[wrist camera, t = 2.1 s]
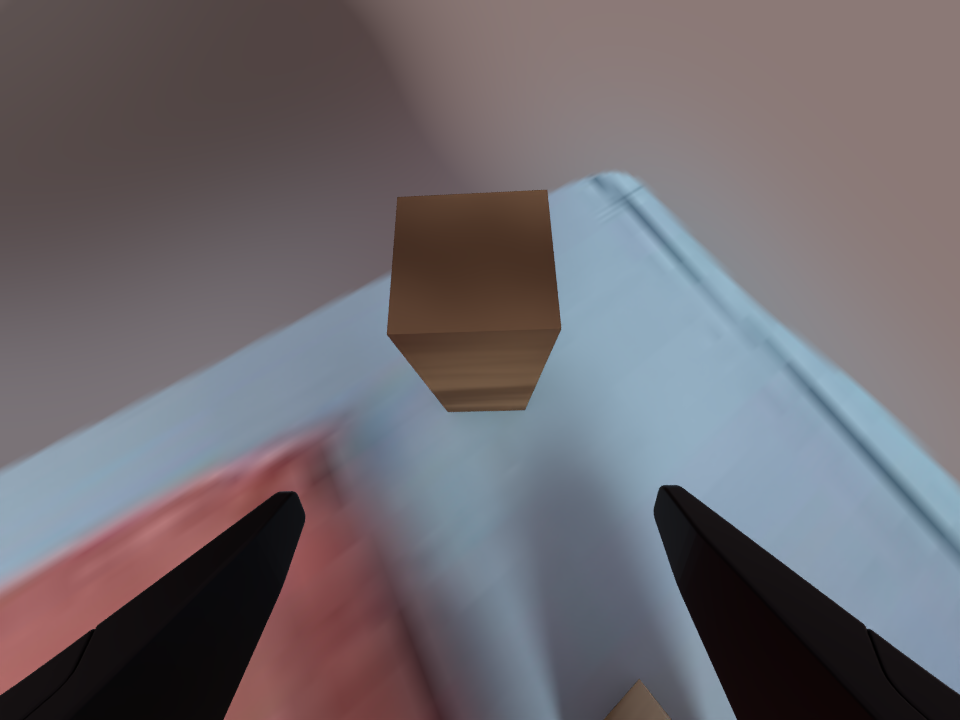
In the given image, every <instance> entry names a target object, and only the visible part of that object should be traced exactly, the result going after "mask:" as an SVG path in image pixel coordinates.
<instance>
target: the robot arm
mask: <svg viewBox="0 0 960 720" xmlns="http://www.w3.org/2000/svg"><path fill="white" fill-rule="evenodd" d="M654 518H655V521H656V524H657V527H658V530H659V533H660V536H661V539H662V542H663V545H664V548H665V551H666V554H667V557H668V560H669V563H670V566H671V569H672V572H673V575H674V577H675V580H676V583H677V586H678V588H679V590H680V593H681V595H682V598H683V600H684V602H685V604H686V606H687V609H688V611H689V613H690V615H691V618H692V620H693V622H694V624H695V627H696V629H697V631H698V633H699V636H700V638H701V640H702V642H703V645H704V647H705V649H706V651H707V653H708V656H709V658H710V660H711V662H712V665H713V667H714V669H715V671H716V674H717V676H718V678H719V680H720V683H721V685H722V687H723V689H724V692H725V694H726V696H727V698H728V701H729V703H730V705H731V707H732V709H733V712H734V714H735V716H736V718H737V720H960V694H958V693H957V692H955V691H954V690H952V689H951V688H950V687H948V686H947V685H945V684H944V683H943V682H941V681H940V680H939V679H937V678H936V677H934V676H933V675H932V674H930V673H929V672H928V671H926V670H925V669H924V668H922V667H921V666H919V665H918V664H917V663H915V662H914V661H913V660H911V659H910V658H909V657H907V656H906V655H904V654H903V653H902V652H900V651H899V650H898V649H896V648H895V647H894V646H892V645H891V644H890V643H888V642H887V641H886V640H884V639H883V638H882V637H880V636H879V635H878V634H876V633H875V632H874V631H872V630H871V629H866V626H865V625H864V624H863V623H862V622H860V621H859V620H858V619H856V618H855V617H854V616H852V615H851V614H850V613H848V612H847V611H846V610H844V609H843V608H842V607H840V606H839V605H838V604H836V603H835V602H834V601H832V600H831V599H830V598H828V597H827V596H826V595H824V594H823V593H822V592H820V591H819V590H818V589H816V588H815V587H814V586H812V585H811V584H810V583H808V582H807V581H806V580H804V579H803V578H802V577H800V576H799V575H798V574H796V573H795V572H794V571H792V570H791V569H790V568H789V567H787V566H786V565H785V564H783V563H782V562H781V561H779V560H778V559H777V558H775V557H774V556H773V555H771V554H770V553H769V552H767V551H766V550H765V549H763V548H762V547H761V546H759V545H758V544H757V543H755V542H754V541H753V540H751V539H750V538H749V537H747V536H746V535H745V534H743V533H742V532H741V531H739V530H738V529H737V528H735V527H734V526H733V525H731V524H730V523H729V522H727V521H726V520H725V519H723V518H722V517H721V516H719V515H718V514H717V513H715V512H714V511H713V510H711V509H710V508H709V507H707V506H706V505H705V504H703V503H702V502H701V501H699V500H698V499H697V498H696V497H694V496H693V495H692V494H690V493H689V492H688V491H686V490H685V489H684V488H682V487H680V486H678V485H663V486H661V487H660V488H659V491H658V494H657V498H656V502H655V506H654ZM304 523H305V512H304V509H303V507H302V504H301V502H300V499H299V497H298V495H297V493H296V492H293V491H282V492H278V493H276V494H274V495H273V496H271V497H270V498H269V499H267V500H266V501H265V502H263V503H262V504H261V505H259V506H258V507H257V508H255V509H254V510H253V511H251V512H250V513H248V514H247V515H246V516H244V517H243V518H242V519H240V520H239V521H238V522H236V523H235V524H234V525H232V526H231V527H230V528H228V529H227V530H226V531H224V532H223V533H221V534H220V535H219V536H217V537H216V538H215V539H213V540H212V541H211V542H209V543H208V544H207V545H205V546H204V547H203V548H201V549H200V550H199V551H197V552H196V553H194V554H193V555H192V556H190V557H189V558H188V559H186V560H185V561H184V562H182V563H181V564H180V565H178V566H177V567H176V568H174V569H173V570H172V571H170V572H169V573H167V574H166V575H165V576H163V577H162V578H161V579H159V580H158V581H157V582H155V583H154V584H153V585H151V586H150V587H149V588H147V589H146V590H145V591H143V592H142V593H140V594H139V595H138V596H136V597H135V598H134V599H132V600H131V601H130V602H128V603H127V604H126V605H124V606H123V607H122V608H120V609H119V610H118V611H116V612H115V613H113V614H112V615H111V616H109V617H108V618H107V619H105V620H104V621H103V622H101V623H100V624H99V625H97V627H96V629H92V630H90V631H89V632H88V633H86V634H85V635H84V636H82V637H81V638H80V639H78V640H77V641H76V642H74V643H73V644H71V645H70V646H69V647H67V648H66V649H65V650H63V651H62V652H61V653H59V654H58V655H56V656H55V657H54V658H52V659H51V660H49V661H48V662H47V663H45V664H44V665H43V666H41V667H40V668H38V669H37V670H36V671H34V672H33V673H32V674H30V675H29V676H27V677H26V678H25V679H23V680H22V681H20V682H19V683H18V684H16V685H15V686H13V687H12V688H10V689H9V690H7V691H6V692H5V693H3V694H2V695H0V720H224V717H225V715H226V713H227V711H228V708H229V706H230V704H231V702H232V699H233V697H234V695H235V693H236V690H237V688H238V686H239V684H240V681H241V679H242V677H243V675H244V672H245V670H246V668H247V666H248V664H249V661H250V659H251V657H252V655H253V652H254V650H255V648H256V646H257V643H258V641H259V639H260V637H261V634H262V632H263V630H264V628H265V625H266V623H267V621H268V619H269V617H270V614H271V612H272V610H273V608H274V605H275V603H276V601H277V599H278V596H279V594H280V592H281V589H282V587H283V584H284V581H285V579H286V576H287V573H288V570H289V567H290V564H291V561H292V558H293V555H294V552H295V549H296V547H297V544H298V541H299V538H300V535H301V532H302V529H303V526H304Z"/></svg>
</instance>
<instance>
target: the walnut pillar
mask: <svg viewBox="0 0 960 720" xmlns="http://www.w3.org/2000/svg"><path fill="white" fill-rule="evenodd" d="M560 331H561V320H560V310H559V301H558V291H557V281H556V271H555V261H554V252H553V242H552V232H551V222H550V212H549V203H548V193H547V190H534V191H533V190H532V191H514V192H492V193H472V194H452V195H431V196H411V197H398V198H397V210H396V222H395V236H394V248H393V261H392V274H391V287H390V300H389V313H388V326H387V335H388V337H389V338H390V339H391V340H392V342H393V343H394V344H395V346H396V347H397V348H398V349H399V351H400V352H401V353H402V354H403V356H404V357H405V358H406V359H407V361H408V362H409V363H410V365H411V366H412V367H413V368H414V370H415V371H416V372H417V373H418V375H419V376H420V377H421V379H422V380H423V381H424V382H425V384H426V385H427V386H428V387H429V389H430V390H431V391H432V392H433V394H434V395H435V396H436V398H437V399H438V400H439V401H440V403H441V404H442V405H443V406H444V408H445V409H446V410H447V411H448V412H470V411H510V410H525V409H526V406H527V404H528V402H529V400H530V397H531V395H532V393H533V391H534V389H535V386H536V384H537V382H538V380H539V377H540V375H541V373H542V371H543V368H544V366H545V364H546V362H547V360H548V357H549V355H550V353H551V351H552V348H553V346H554V344H555V342H556V340H557V337H558V335H559V333H560Z"/></svg>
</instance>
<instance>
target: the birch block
mask: <svg viewBox="0 0 960 720" xmlns="http://www.w3.org/2000/svg"><path fill="white" fill-rule="evenodd" d="M604 720H671V718H670V717H669V716H668V715H667V713H666V712H665V711H664V710H663V708H662V707H661V706H660V704H659V703H658V702H657V701H656V699H655V698H654V697H653V696H652V694H651V693H650V692H649V691H648V689H647V688H646V687H645V686H644V684H643V683H642V682H641V680H640V679H639V680H638V681H637V682H636V683H635V684H634V686H633V687H632V688H631V689H630V690H629V691H628V692H627V694H626V695H625V696H624V697H623V698H622V699H621V700H620V702H619V703H618V704H617V705H616V706H615V707H614V708H613V710H612V711H611V712H610V713H609V714H608V715H607V716H606V718H605V719H604Z"/></svg>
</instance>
